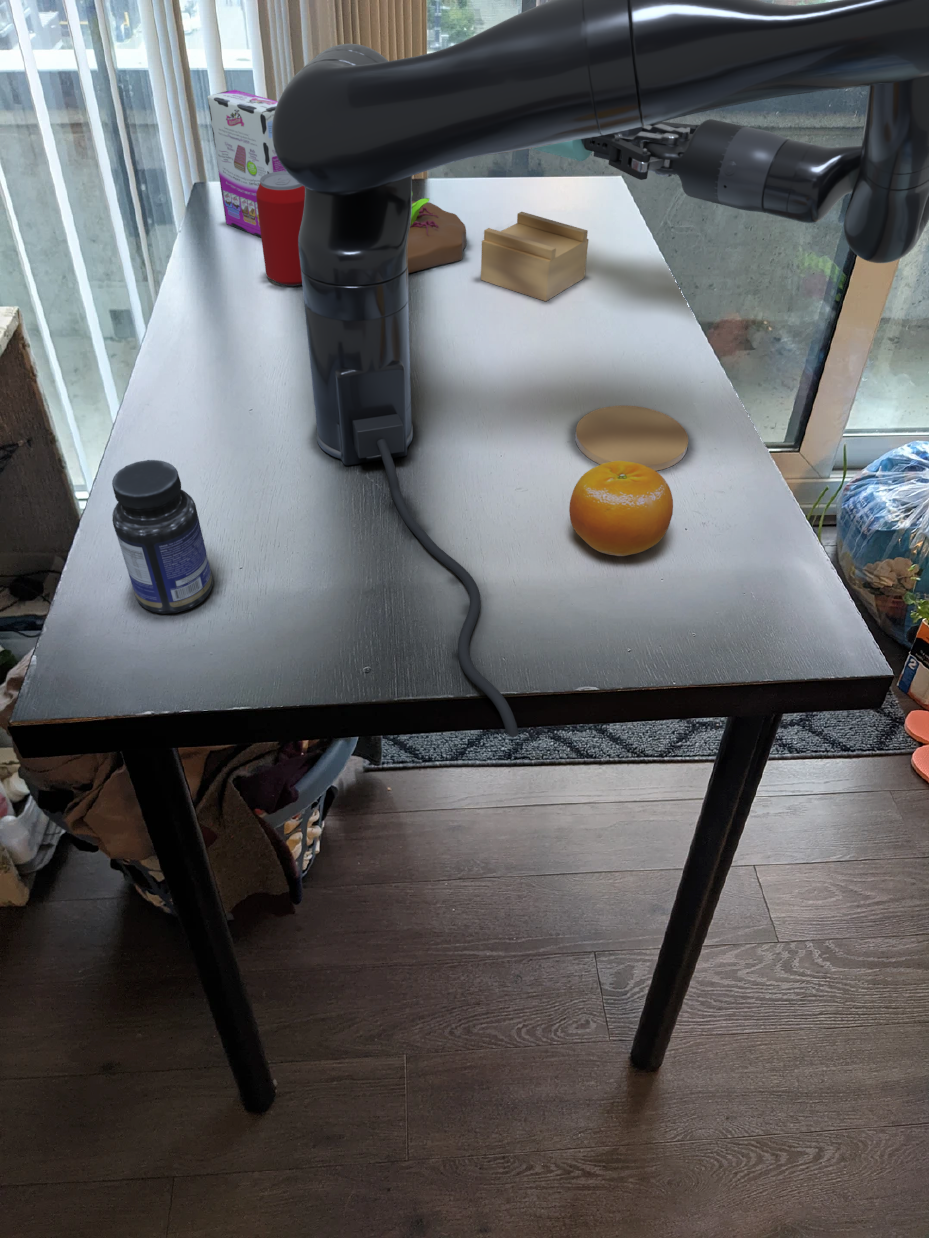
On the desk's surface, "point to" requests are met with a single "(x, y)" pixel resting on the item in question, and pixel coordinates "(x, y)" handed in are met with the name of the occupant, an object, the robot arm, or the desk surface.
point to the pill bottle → (160, 537)
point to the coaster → (631, 436)
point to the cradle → (534, 256)
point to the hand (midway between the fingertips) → (595, 134)
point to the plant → (434, 236)
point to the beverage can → (281, 225)
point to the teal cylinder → (579, 148)
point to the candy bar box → (242, 152)
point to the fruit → (621, 508)
